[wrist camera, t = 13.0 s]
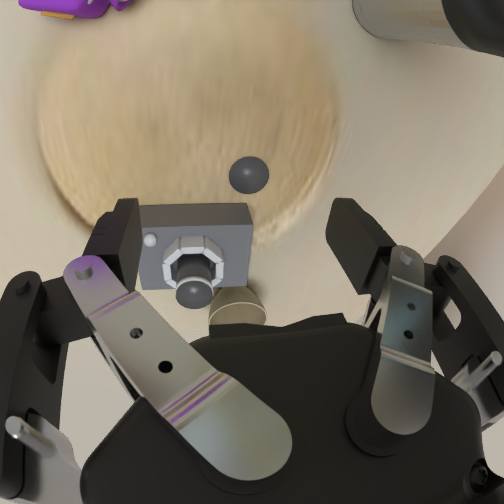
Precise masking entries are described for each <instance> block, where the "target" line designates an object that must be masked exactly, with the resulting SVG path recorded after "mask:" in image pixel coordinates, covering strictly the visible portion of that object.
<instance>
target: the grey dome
mask: <svg viewBox="0 0 504 504" xmlns="http://www.w3.org/2000/svg"><path fill="white" fill-rule="evenodd" d="M268 179H269V170H268V168H267V166H266V164H265V163H264V162H263V161H262V160H261V159H259V158H256V157H244V158H241V159H239V160H238V161H236V162H235V163H234V164H233V165H232V167H231V169H230V172H229V180H230V183H231V185H232V187H233V188H234V189H235V190H236V191H238V192H240V193H243V194H252V193H256V192H258V191H260V190H261V189H262V188H263V187H264V186H265V185H266V184H267V182H268Z"/></svg>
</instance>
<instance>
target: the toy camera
mask: <svg viewBox="0 0 504 504" xmlns="http://www.w3.org/2000/svg"><path fill="white" fill-rule="evenodd" d="M131 1H132V0H19V5H20V6H21V7H23V8H25V9H30V10H36V11H42V12H41V15H45V16H51V17H58V18H67V19H73V18H74V16H76V17H83V18H97V17H100V16H101V15H102V14H103V13H104V12H105V10H106V9H107V7H108V5H109V3H111V4H112V6H113V7H114V8H115V9H116V10H117V11H121V10H123V9H124V8H125V7H126V6H127V5H128V4H129V3H130V2H131Z"/></svg>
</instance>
